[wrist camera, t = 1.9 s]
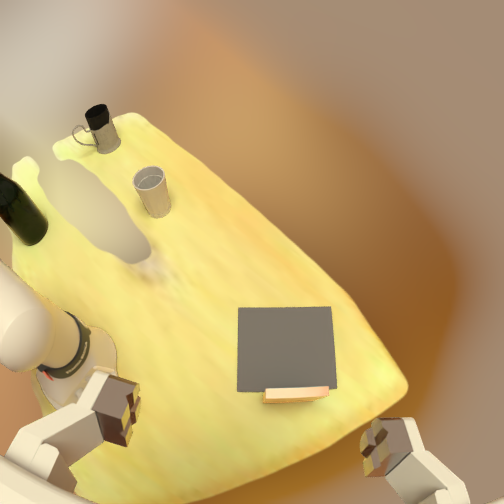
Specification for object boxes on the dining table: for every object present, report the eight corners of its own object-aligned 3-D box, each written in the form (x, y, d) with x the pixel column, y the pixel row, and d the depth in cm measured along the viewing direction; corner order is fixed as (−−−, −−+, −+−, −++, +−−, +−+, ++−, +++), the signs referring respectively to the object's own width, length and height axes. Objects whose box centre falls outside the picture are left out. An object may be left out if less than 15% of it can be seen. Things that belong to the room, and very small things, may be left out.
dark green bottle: (49, 212, 81) (-4, 133, 53) (48, 239, 77) (-13, 159, 48) (23, 224, 79) (-33, 151, 51) (21, 251, 75) (-43, 178, 46)
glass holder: (125, 143, 95) (112, 108, 82) (89, 166, 90) (72, 132, 77) (114, 133, 98) (103, 100, 85) (80, 155, 94) (65, 122, 81)
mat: (336, 388, 59) (337, 388, 58) (237, 391, 59) (237, 391, 58) (330, 307, 68) (330, 306, 67) (238, 308, 68) (238, 307, 67)
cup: (179, 201, 82) (170, 169, 72) (164, 224, 79) (152, 193, 68) (155, 193, 84) (144, 162, 73) (139, 215, 80) (126, 185, 70)
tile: (312, 401, 58) (329, 395, 45) (262, 402, 58) (265, 398, 45) (312, 393, 58) (328, 385, 46) (262, 394, 58) (265, 388, 46)
